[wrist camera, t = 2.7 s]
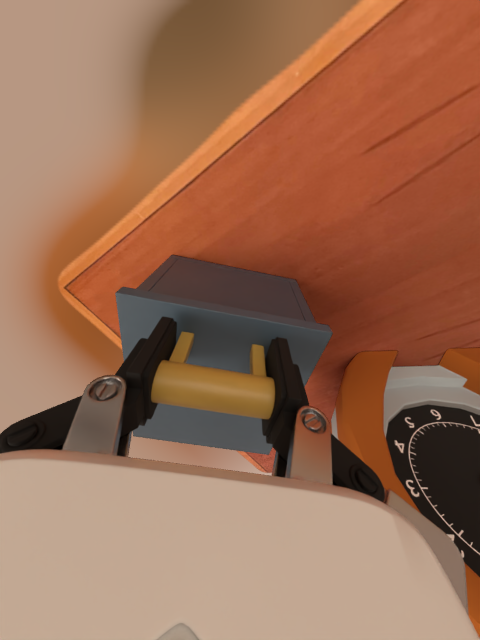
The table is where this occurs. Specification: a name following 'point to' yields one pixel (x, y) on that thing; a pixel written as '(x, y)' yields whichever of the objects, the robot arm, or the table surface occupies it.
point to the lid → (214, 367)
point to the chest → (229, 287)
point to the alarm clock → (421, 441)
